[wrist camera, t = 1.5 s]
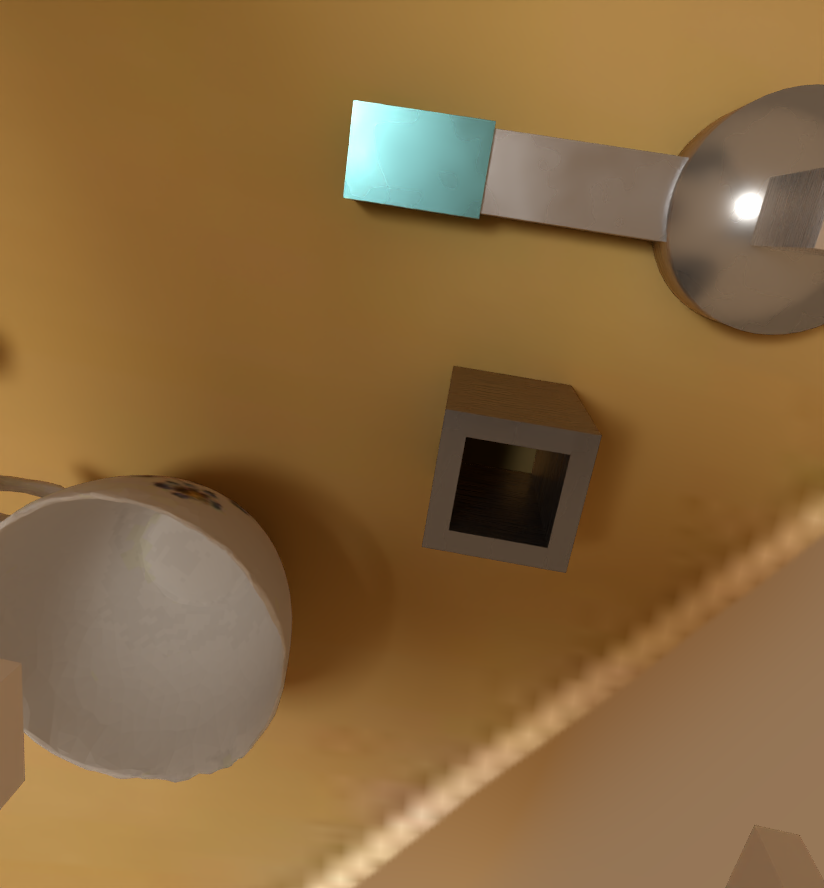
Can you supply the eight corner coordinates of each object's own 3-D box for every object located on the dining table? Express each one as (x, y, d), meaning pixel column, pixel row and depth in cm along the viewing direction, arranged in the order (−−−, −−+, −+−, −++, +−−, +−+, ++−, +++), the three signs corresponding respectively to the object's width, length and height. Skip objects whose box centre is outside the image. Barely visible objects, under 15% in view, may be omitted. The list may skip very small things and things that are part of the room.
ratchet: (372, 39, 23) (330, -37, 17) (911, 117, 22) (1092, 69, 16) (347, 262, 26) (302, 272, 19) (830, 340, 25) (956, 378, 18)
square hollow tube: (453, 365, 27) (445, 408, 20) (571, 385, 27) (601, 435, 20) (434, 474, 29) (422, 546, 22) (545, 493, 28) (566, 572, 22)
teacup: (383, 542, 30) (351, 647, 22) (240, 701, 34) (171, 836, 26) (116, 339, 28) (-17, 378, 20) (-3, 531, 32) (-153, 623, 24)
